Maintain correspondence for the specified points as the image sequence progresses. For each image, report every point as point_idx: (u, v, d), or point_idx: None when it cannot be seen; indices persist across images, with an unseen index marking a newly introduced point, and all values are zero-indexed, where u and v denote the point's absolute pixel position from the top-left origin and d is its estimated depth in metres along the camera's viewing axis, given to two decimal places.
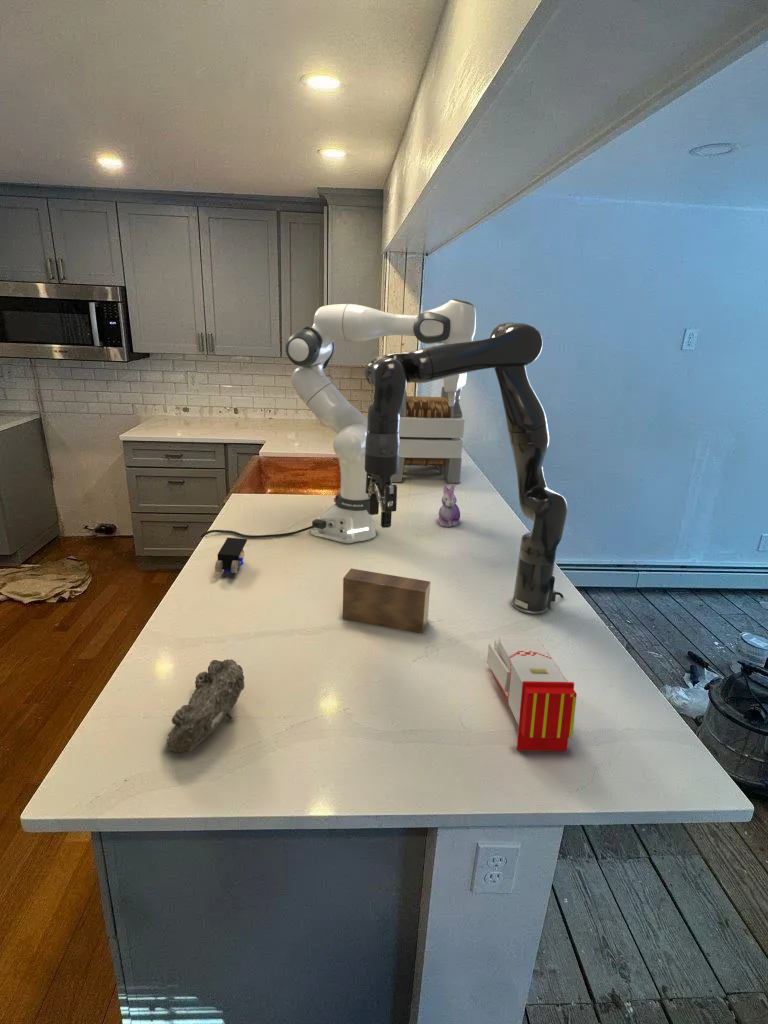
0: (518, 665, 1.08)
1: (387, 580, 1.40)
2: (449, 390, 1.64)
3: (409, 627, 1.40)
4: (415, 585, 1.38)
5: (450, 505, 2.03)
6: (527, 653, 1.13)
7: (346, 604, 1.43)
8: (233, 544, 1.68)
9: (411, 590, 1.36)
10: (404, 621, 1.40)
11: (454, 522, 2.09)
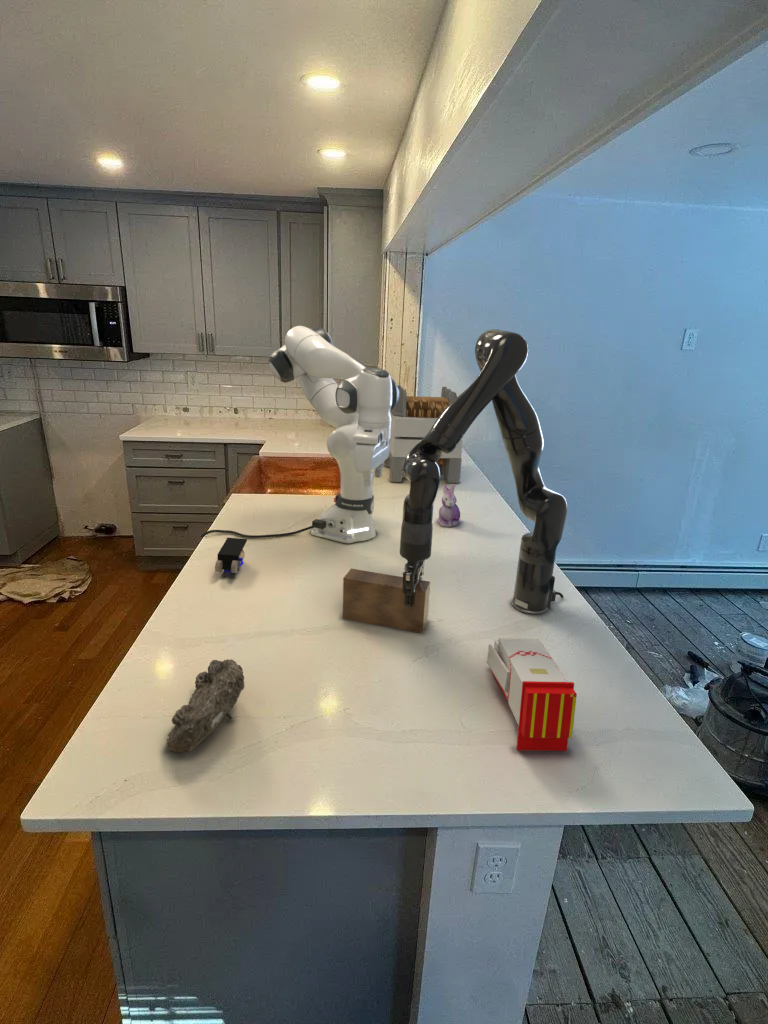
0: (518, 665, 1.08)
1: (387, 580, 1.40)
2: (362, 472, 1.44)
3: (409, 627, 1.40)
4: None
5: (450, 505, 2.03)
6: (527, 653, 1.13)
7: (346, 604, 1.43)
8: (233, 544, 1.68)
9: None
10: (404, 621, 1.40)
11: (454, 522, 2.09)
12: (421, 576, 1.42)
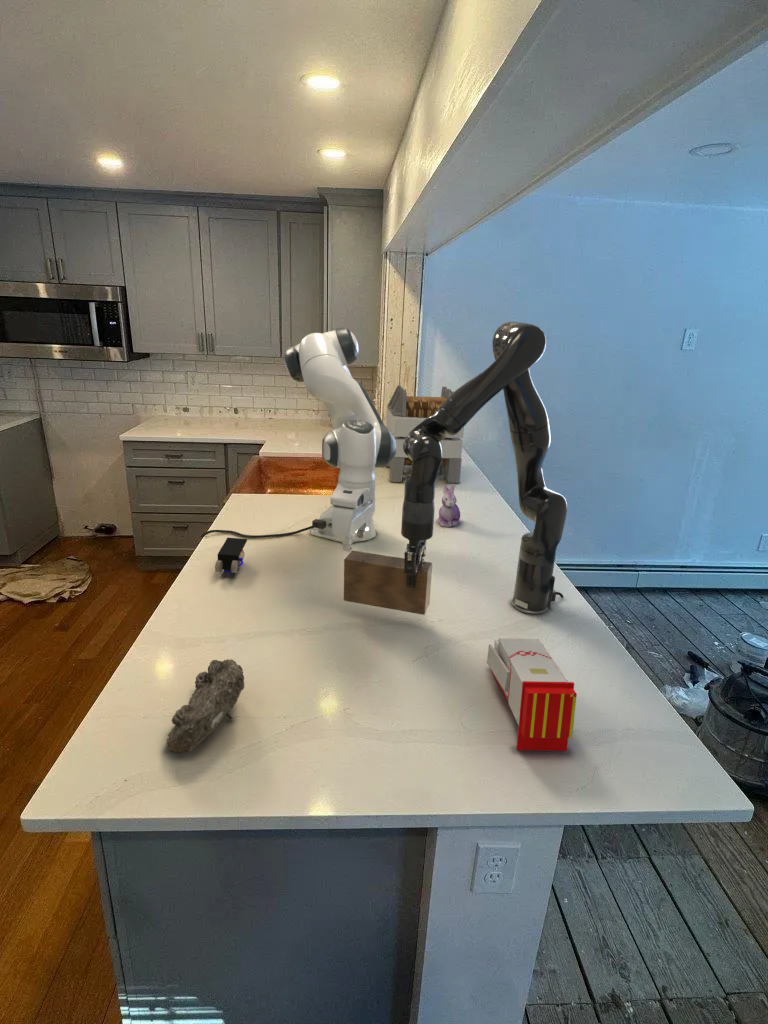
0: (518, 665, 1.08)
1: (388, 561, 1.38)
2: (339, 537, 1.29)
3: (411, 609, 1.38)
4: None
5: (450, 505, 2.03)
6: (527, 653, 1.13)
7: (347, 586, 1.41)
8: (233, 544, 1.68)
9: None
10: (405, 602, 1.38)
11: (454, 522, 2.09)
12: (423, 557, 1.40)
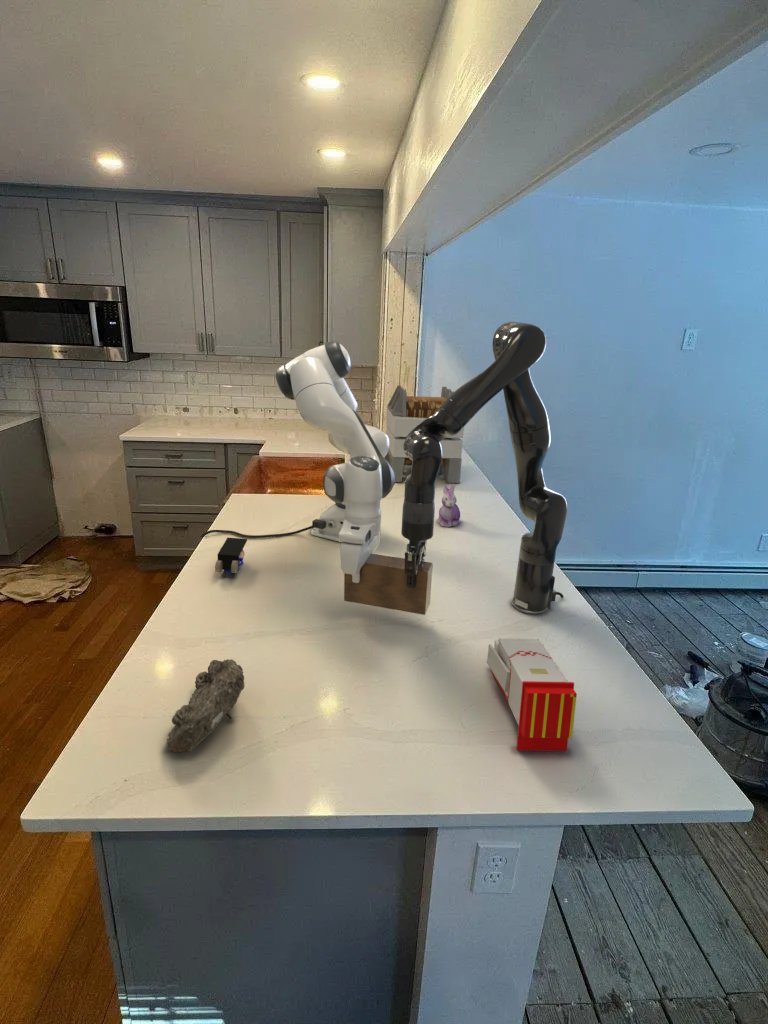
0: (518, 665, 1.08)
1: (388, 562, 1.38)
2: (348, 573, 1.32)
3: (411, 609, 1.38)
4: None
5: (450, 505, 2.03)
6: (527, 653, 1.13)
7: (348, 586, 1.41)
8: (233, 544, 1.68)
9: None
10: (406, 603, 1.38)
11: (454, 522, 2.09)
12: (423, 557, 1.40)
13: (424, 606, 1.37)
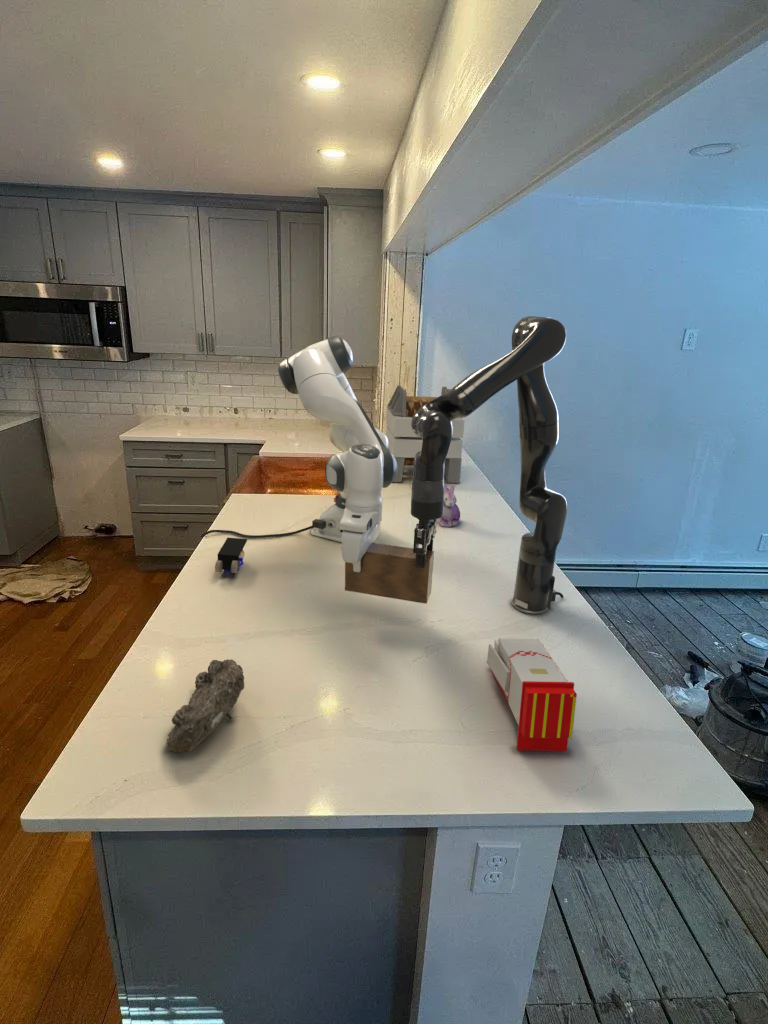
0: (518, 665, 1.08)
1: (390, 550, 1.37)
2: (349, 562, 1.31)
3: (413, 598, 1.37)
4: None
5: (450, 505, 2.03)
6: (527, 653, 1.13)
7: (349, 575, 1.40)
8: (233, 544, 1.68)
9: (414, 560, 1.34)
10: (407, 591, 1.37)
11: (454, 522, 2.09)
12: None
13: (426, 595, 1.36)
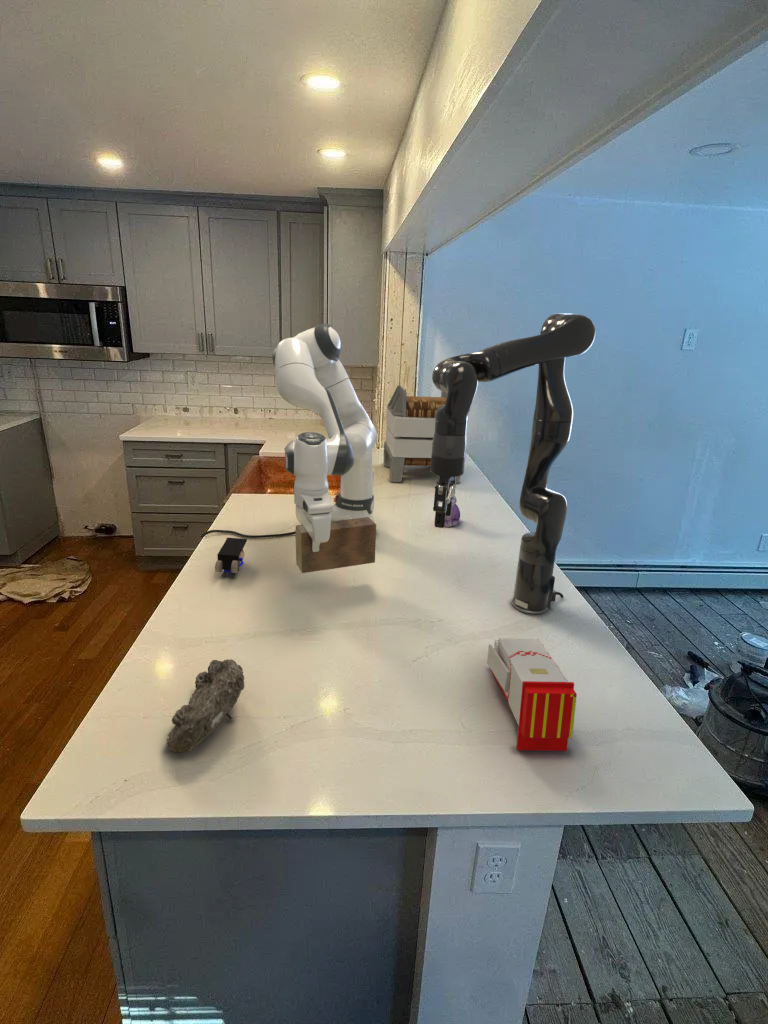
0: (518, 665, 1.08)
1: (337, 525, 1.52)
2: (322, 541, 1.41)
3: (363, 561, 1.56)
4: (363, 522, 1.54)
5: None
6: (527, 653, 1.13)
7: (305, 557, 1.48)
8: (233, 544, 1.68)
9: (364, 527, 1.52)
10: (359, 556, 1.55)
11: (454, 522, 2.09)
12: None
13: (374, 555, 1.57)
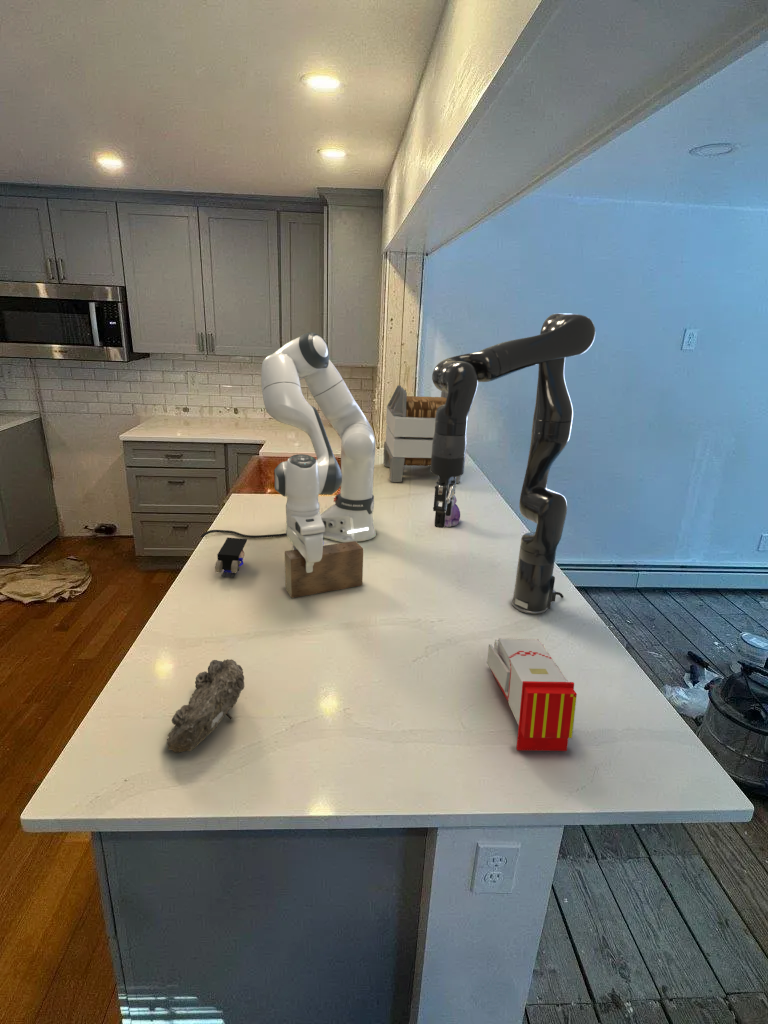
0: (518, 665, 1.08)
1: (325, 550, 1.56)
2: (314, 561, 1.45)
3: (351, 584, 1.60)
4: (350, 546, 1.59)
5: None
6: (527, 653, 1.13)
7: (295, 583, 1.52)
8: (233, 544, 1.68)
9: (351, 551, 1.57)
10: (346, 580, 1.59)
11: (454, 522, 2.09)
12: None
13: (361, 578, 1.61)
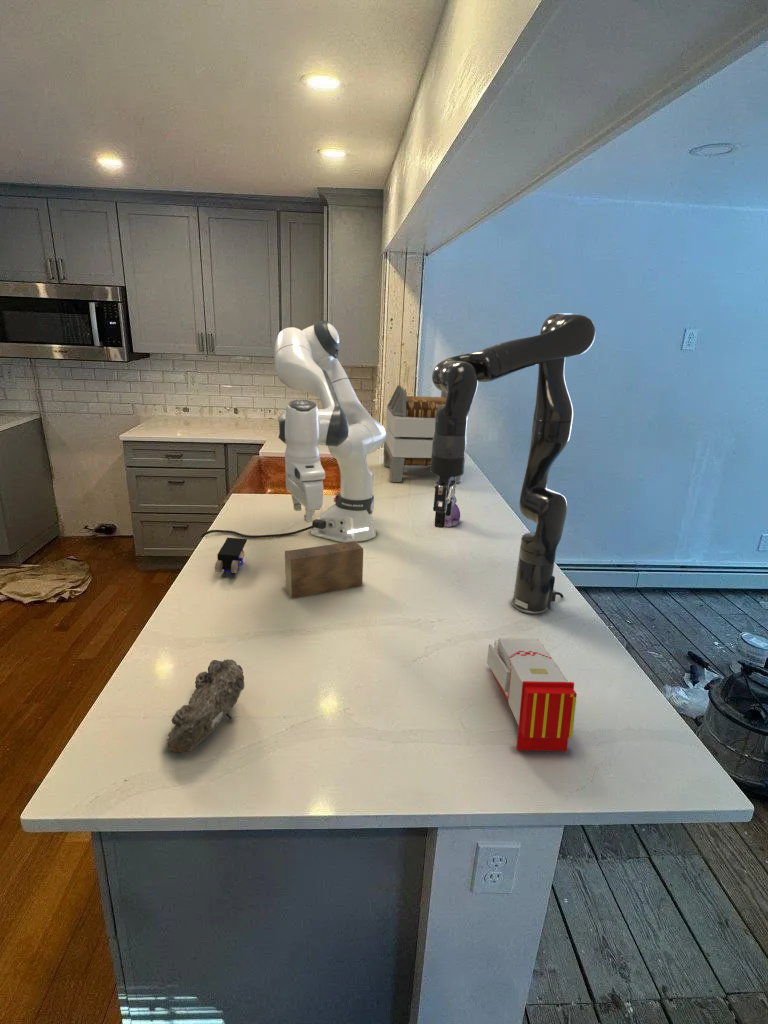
0: (518, 665, 1.08)
1: (325, 550, 1.56)
2: (314, 509, 1.40)
3: (351, 584, 1.60)
4: (350, 546, 1.59)
5: None
6: (527, 653, 1.13)
7: (295, 583, 1.52)
8: (233, 544, 1.68)
9: (351, 551, 1.57)
10: (346, 580, 1.59)
11: (454, 522, 2.09)
12: None
13: (361, 578, 1.61)
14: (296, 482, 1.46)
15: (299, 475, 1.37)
